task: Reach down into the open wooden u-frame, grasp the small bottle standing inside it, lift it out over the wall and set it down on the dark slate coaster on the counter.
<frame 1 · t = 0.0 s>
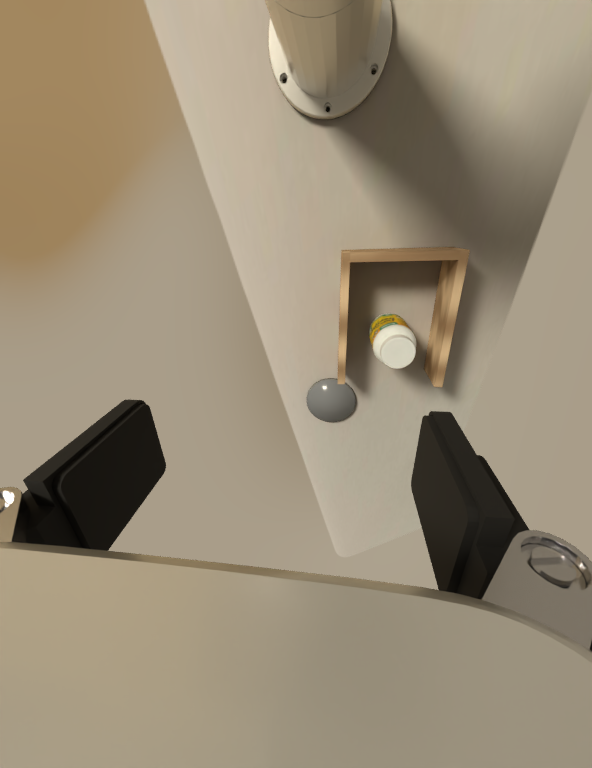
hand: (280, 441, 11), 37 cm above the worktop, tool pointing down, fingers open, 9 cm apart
supplement bottle: (387, 330, 45), on the worktop
slate coaster: (330, 399, 51), on the worktop
wooden u-frame: (388, 316, 44), on the worktop
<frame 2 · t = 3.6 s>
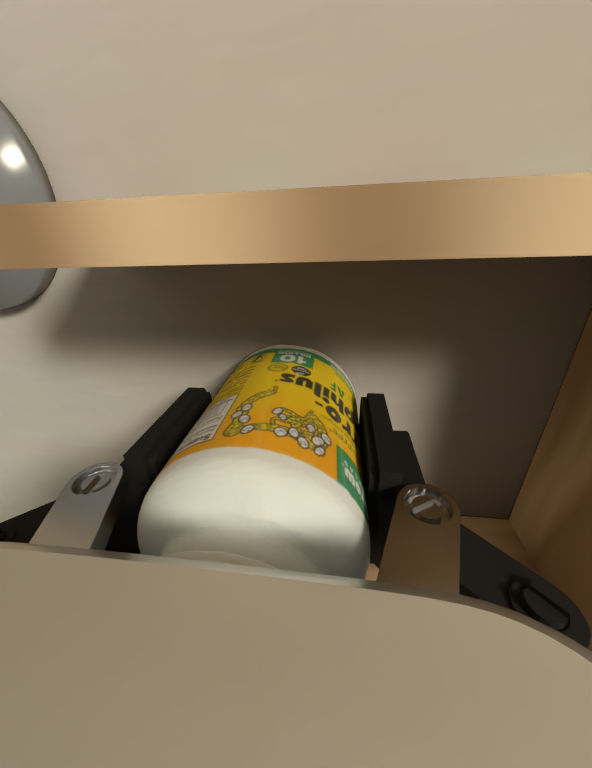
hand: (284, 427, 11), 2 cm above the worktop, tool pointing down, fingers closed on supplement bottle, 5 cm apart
supplement bottle: (293, 398, 13), on the worktop, touching gripper
wooden u-frame: (340, 402, 13), on the worktop
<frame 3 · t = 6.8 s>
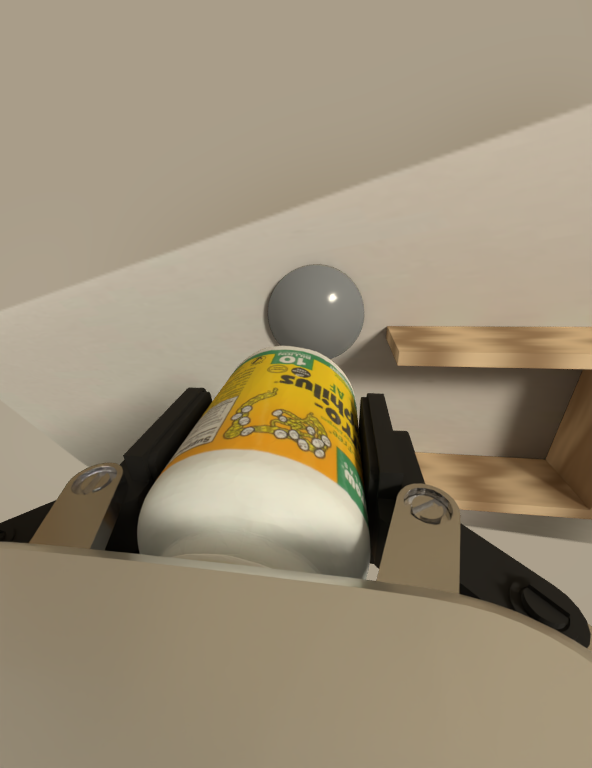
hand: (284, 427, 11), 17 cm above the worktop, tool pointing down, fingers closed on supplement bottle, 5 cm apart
supplement bottle: (292, 399, 13), point 15 cm above the worktop, touching gripper
slate coaster: (315, 314, 26), on the worktop
wooden u-frame: (470, 402, 28), on the worktop
when the fingers open (4 cm above the worktop, at t = 9.8 s): supplement bottle drops 1 cm, resting on slate coaster.
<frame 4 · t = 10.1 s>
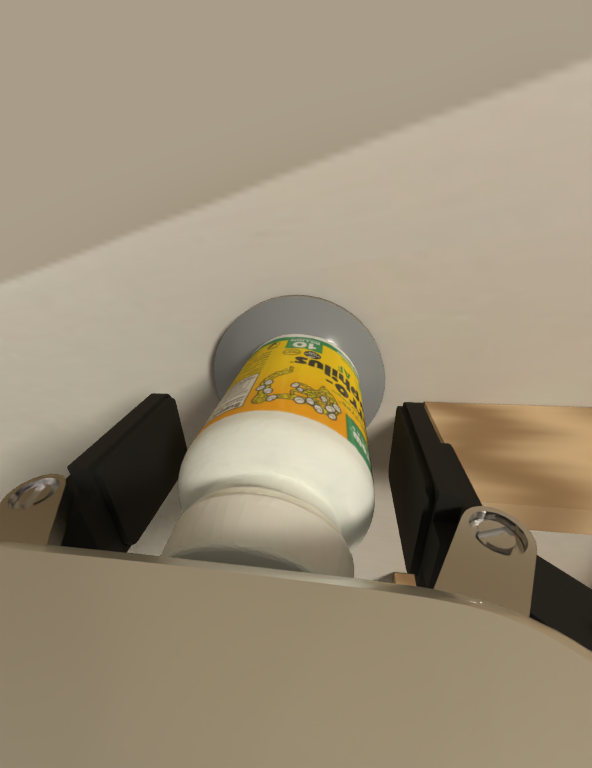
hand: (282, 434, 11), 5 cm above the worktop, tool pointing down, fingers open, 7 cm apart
supplement bottle: (302, 384, 15), resting on slate coaster
slate coaster: (298, 379, 15), on the worktop
wooden u-frame: (559, 519, 17), on the worktop
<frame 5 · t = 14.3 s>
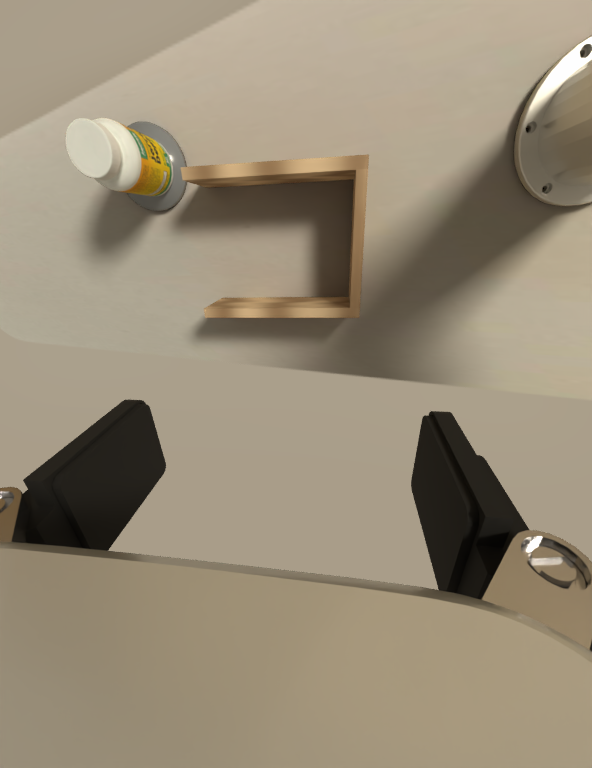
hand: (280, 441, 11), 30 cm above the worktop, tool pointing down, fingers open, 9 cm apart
supplement bottle: (152, 169, 34), resting on slate coaster
slate coaster: (152, 169, 34), on the worktop
wooden u-frame: (281, 244, 36), on the worktop
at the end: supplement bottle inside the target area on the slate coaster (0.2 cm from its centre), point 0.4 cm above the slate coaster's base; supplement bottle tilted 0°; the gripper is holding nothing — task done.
